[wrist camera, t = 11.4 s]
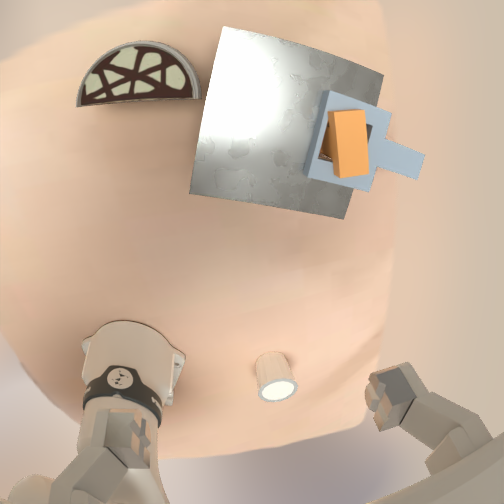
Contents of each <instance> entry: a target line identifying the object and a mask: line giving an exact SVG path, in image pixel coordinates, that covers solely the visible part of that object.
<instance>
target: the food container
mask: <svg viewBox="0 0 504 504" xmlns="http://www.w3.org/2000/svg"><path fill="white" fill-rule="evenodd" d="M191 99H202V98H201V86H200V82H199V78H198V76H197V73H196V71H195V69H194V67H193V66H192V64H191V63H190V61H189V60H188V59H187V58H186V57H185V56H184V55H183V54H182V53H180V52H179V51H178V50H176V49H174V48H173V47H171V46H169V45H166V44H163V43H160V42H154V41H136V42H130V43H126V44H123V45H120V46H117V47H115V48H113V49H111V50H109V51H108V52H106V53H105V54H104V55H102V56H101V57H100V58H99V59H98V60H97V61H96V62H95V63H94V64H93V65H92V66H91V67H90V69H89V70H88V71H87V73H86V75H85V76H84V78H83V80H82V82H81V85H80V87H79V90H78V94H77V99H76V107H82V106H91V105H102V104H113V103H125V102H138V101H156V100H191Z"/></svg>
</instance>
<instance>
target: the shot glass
mask: <svg viewBox="0 0 504 504" xmlns="http://www.w3.org/2000/svg"><path fill="white" fill-rule="evenodd" d="M256 373H257V385H258V396H259V397H260V398H261V399H262V400H264V401H268V402H277V401H282V400H285V399H288V398H289V397H291V396H292V395H294V393H295V392H296V391H297V387H298V385H297V383H296V381H295V378H294V376H293V374H292V372H291V369H290V367H289V365H288V363H287V360H286V358H285V356H284V355H283V354H281V353H279V352H268V353H266V354H263V355H262V356H260V357H259V358H258V359H257V361H256Z"/></svg>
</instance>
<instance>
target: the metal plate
mask: <svg viewBox="0 0 504 504" xmlns="http://www.w3.org/2000/svg"><path fill="white" fill-rule="evenodd" d="M383 77H384V75H382V74H380V73H378V72H376V71H373V70H371V69H368V68H366V67H364V66H361V65H359V64H356V63H354V62H351V61H348V60H346V59H343V58H340V57H338V56H335V55H332V54H329V53H326V52H323V51H320V50H317V49H314V48H311V47H308V46H305V45H301V44H298V43H294V42H291V41H287V40H283V39H280V38H276V37H272V36H268V35H264V34H259V33H255V32H250V31H245V30H240V29H235V28H230V27H224V26H223V30H222V34H221V38H220V42H219V46H218V50H217V54H216V58H215V62H214V67H213V71H212V75H211V80H210V84H209V89H208V94H207V98H206V103H205V108H204V113H203V118H202V123H201V128H200V133H199V139H198V144H197V150H196V155H195V161H194V167H193V173H192V179H191V185H190V192H189V194H195V195H202V196H209V197H216V198H222V199H229V200H236V201H242V202H248V203H255V204H261V205H267V206H273V207H279V208H284V209H290V210H296V211H301V212H307V213H312V214H318V215H323V216H328V217H334V218H339V219H344V217H345V214H346V211H347V208H348V205H349V202H350V198H351V195H352V192H353V189H354V188H351V187H347V186H342V185H338V184H334V183H330V182H326V181H321V180H317V179H312V178H308V177H306V176H305V175H304V174H303V171H304V167H305V163H306V159H307V156H308V152H309V148H310V144H311V140H312V136H313V132H314V128H315V124H316V120H317V116H318V112H319V108H320V104H321V100H322V96H323V92H324V90H331V91H334V92H337V93H340V94H343V95H345V96H348V97H351V98H354V99H357V100H359V101H362V102H365V103H367V104H370V105H373V106H375V107H376V106H377V102H378V98H379V94H380V90H381V85H382V81H383ZM318 157H319V158H323V159H327V160H331V161H333V159H329V158H325V157H321V156H318Z"/></svg>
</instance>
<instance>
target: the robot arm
mask: <svg viewBox="0 0 504 504" xmlns="http://www.w3.org/2000/svg"><path fill="white" fill-rule="evenodd" d="M82 349H83V352H84V354H85V356H86V358H85V362H84V367H83V371H82V379H83V380H84V383H85V385H86V386H87V388H86V391H85V393H84V398H83V410H84V414H83V418H82V423H81V427H80V432H79V437H78V442H77V451H78V456H77V457H76V458H75V459H74V460H73V461H72V462H71V463H70V464H69V465H68V466H67V467H66V469H65V470H64V471H63V472H62V473H61V474H60V475H59V476H58V477H57V478H56V479H52V478H48V477H45V476H41V475H38V474H34V475H30V476H27V477H25V478H23V479H22V480H20V481H19V482H18V483H17V484H16V485H15V486H14V487H13V488H12V490H11V492H10V494H9V497H8V500H5V499H2V498H0V504H170V503H169V501H168V498H167V496H166V494H165V491H164V488H163V485H162V482H161V479H160V474H159V469H158V450H157V441H158V428H159V427H160V424H161V419H162V408H163V406H164V405H169V406H172V404H173V393H174V390H173V389H174V387H175V385H176V382H177V380H178V377H179V375H180V373H181V370H182V368H183V365H184V363H185V358H186V357H185V355H184V354H183V353H181V352H180V351H178V350H176V349H175V348H173V347H172V346H171V345H170V344H169V343H168V341H167V340H166V339H165V338H164V337H163V336H162V335H161V334H160V333H158V332H157V331H155V330H154V329H152V328H150V327H148V326H145V325H143V324H140V323H136V322H130V321H117V322H112V323H108V324H106V325H104V326H102V327H101V328H100V329H99V330H98V331H97V332H96V333H95V335H93V336H92V337H89V338H86V339H84V340H83V341H82ZM369 381H370V383H369V384H368V385H367V386H366V389H365V400H366V403H367V406H368V408H369V409H370V410H372V411H373V412H375V414H374V417H373V419H374V421H375V423H376V425H377V427H378V429H379V431H380V432H381V431H384V430H387V429H390V428H393V427H396V426H399V425H400V427H401V428H402V429H404V430H405V431H406V432H408V433H410V434H411V435H413V436H414V437H415V438H416V439H418V440H419V441H421V442H422V443H424V444H425V445H427V446H428V447H429V448H431V449H432V450H434V451H433V452H432V453H431V454H430V455H429V457H427V459H426V461H425V464H426V466H427V468H428V470H429V472H430V474H431V476H430V477H428V478H426V479H424V480H422V481H420V482H418V483H415V484H413V485H411V486H409V487H407V488H404V489H402V490H400V491H398V492H395V493H392V494H390V495H387V496H385V497H382V498H380V499H377V500H374V501H371V502H369V503H366V504H504V432H503V433H501V434H500V435H499V436H497V437H496V438H494V439H493V438H492V436H491V435H490V433H489V432H488V430H487V428H486V427H485V425H484V423H483V422H482V420H481V419H480V417H479V415H477V414H475V413H473V412H471V411H469V410H467V409H465V408H463V407H461V406H459V405H457V404H455V403H453V402H451V401H449V400H447V399H446V398H443V397H442V396H440V395H438V394H436V393H433V392H430V393H429V392H428V390H427V389H426V387H425V385H424V384H423V382H422V381H421V379H420V378H419V376H418V375H417V373H416V372H415V370H414V368H413V367H412V365H411V364H410V363H409V362H405V363H402V364H399V365H396V366H392V367H389V368H386V369H383V370H379V371H376V372H373V373H371V374H370V376H369Z"/></svg>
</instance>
